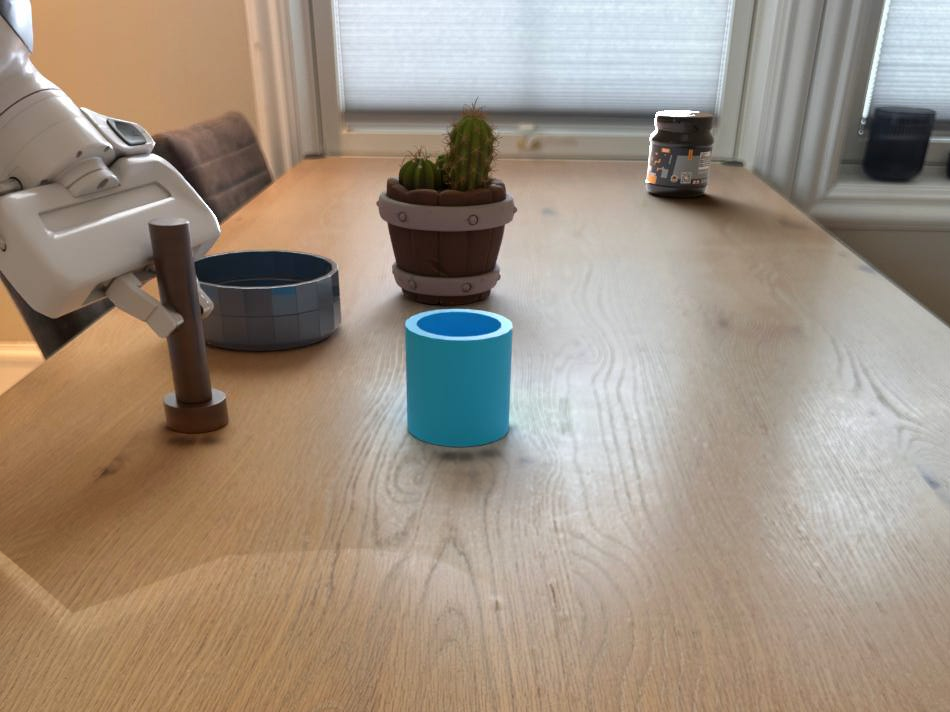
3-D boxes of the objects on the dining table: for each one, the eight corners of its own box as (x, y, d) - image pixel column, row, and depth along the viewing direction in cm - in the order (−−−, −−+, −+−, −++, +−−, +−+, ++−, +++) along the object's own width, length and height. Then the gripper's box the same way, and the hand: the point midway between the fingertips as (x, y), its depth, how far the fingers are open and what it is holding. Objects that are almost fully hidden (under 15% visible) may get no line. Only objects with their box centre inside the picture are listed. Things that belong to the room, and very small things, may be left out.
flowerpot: (352, 293, 110) (342, 91, 99) (447, 270, 120) (448, 83, 108) (444, 321, 102) (444, 104, 91) (538, 294, 111) (549, 95, 100)
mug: (517, 444, 75) (522, 339, 71) (412, 448, 74) (410, 342, 70) (492, 390, 85) (495, 294, 81) (399, 393, 84) (396, 296, 80)
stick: (155, 420, 78) (120, 220, 70) (208, 406, 81) (180, 211, 72) (187, 438, 75) (154, 231, 67) (240, 422, 78) (215, 222, 70)
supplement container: (644, 186, 172) (652, 109, 165) (705, 189, 171) (715, 111, 164) (644, 197, 163) (653, 116, 157) (708, 200, 162) (719, 118, 156)
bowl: (159, 327, 98) (149, 265, 95) (284, 300, 107) (279, 242, 104) (243, 364, 90) (235, 297, 86) (372, 332, 98) (369, 270, 95)
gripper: (-37, 158, 60) (127, 335, 63) (154, 122, 76) (278, 264, 80) (-74, 229, 64) (83, 393, 67) (116, 180, 80) (236, 314, 83)
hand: (190, 322), depth 73 cm, fingers closed on stick, 3 cm apart
